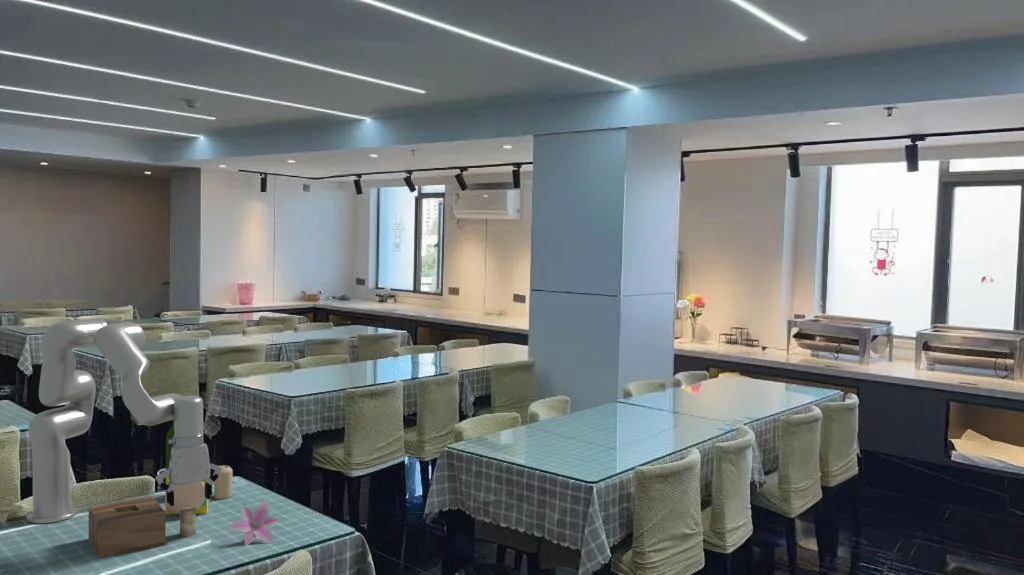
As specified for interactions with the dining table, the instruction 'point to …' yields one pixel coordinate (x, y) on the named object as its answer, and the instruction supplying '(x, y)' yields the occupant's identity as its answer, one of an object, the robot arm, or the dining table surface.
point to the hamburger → (188, 498)
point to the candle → (224, 483)
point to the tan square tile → (125, 511)
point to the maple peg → (187, 522)
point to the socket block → (126, 526)
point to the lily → (255, 523)
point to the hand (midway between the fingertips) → (189, 501)
